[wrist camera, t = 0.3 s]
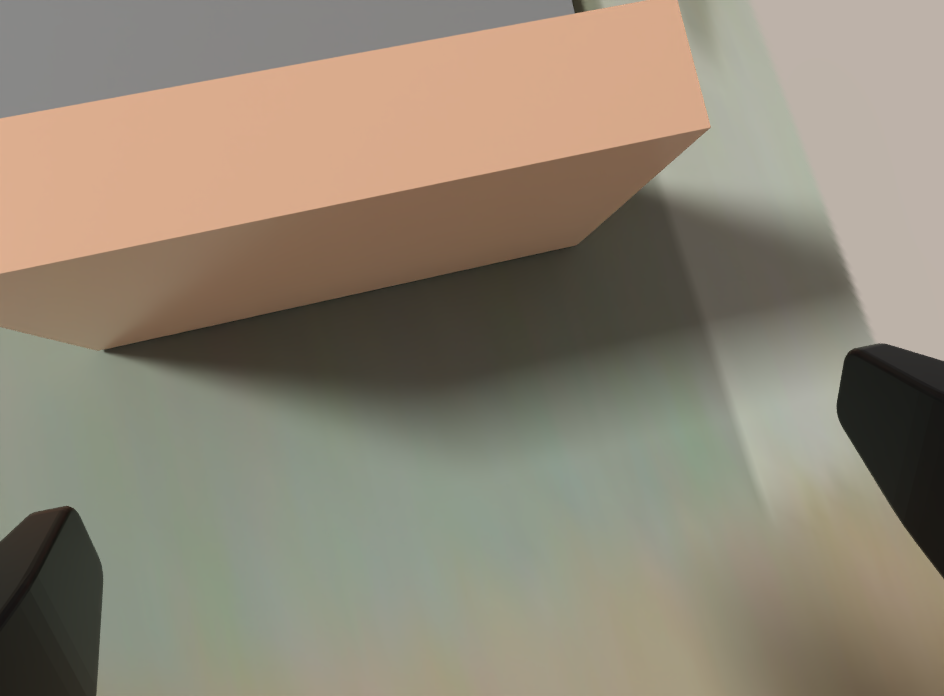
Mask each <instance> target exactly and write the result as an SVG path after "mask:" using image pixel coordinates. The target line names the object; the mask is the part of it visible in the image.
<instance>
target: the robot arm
mask: <svg viewBox="0 0 944 696" xmlns="http://www.w3.org/2000/svg"><path fill="white" fill-rule="evenodd" d="M837 414H838V418H839V421H840V423H841V425H842V427H843V429H844V431H845V432H846V434H847V435H848V437H849V439H850V440H851V442H852V444H853V445H854V447H855V449H856V450H857V452H858V453H859V455H860V457H861V458H862V460H863V462H864V463H865V465H866V466H867V468H868V470H869V471H870V473H871V475H872V476H873V478H874V480H875V481H876V483H877V484H878V486H879V488H880V489H881V491H882V493H883V494H884V496H885V497H886V499H887V501H888V502H889V504H890V506H891V507H892V509H893V510H894V512H895V513H896V515H897V516H898V518H899V519H900V521H901V523H902V524H903V525H904V527H905V528H906V530H907V531H908V532H909V534H910V535H911V536H912V538H913V539H914V541H915V542H916V543H917V545H918V546H919V547H920V548H921V550H922V551H923V552H924V554H925V555H926V556H927V558H928V559H929V560H930V561H931V563H932V564H933V565H934V567H935V568H936V569H937V571H938V572H939V573H940V575H941V576H942V577H943V578H944V361H941V360H938V359H935V358H931V357H928V356H925V355H921V354H918V353H915V352H912V351H908V350H905V349H902V348H898V347H895V346H891V345H888V344H874V345H869V346H864V347H859V348H854V349H852V350H851V351H849V352H848V354H847V355H846V357H845V360H844V364H843V370H842V376H841V382H840V387H839V393H838V399H837ZM102 594H103V571H102V565H101V562H100V559H99V557H98V554H97V552H96V550H95V548H94V546H93V543H92V541H91V539H90V537H89V535H88V533H87V530H86V528H85V526H84V524H83V522H82V520H81V517H80V516H79V514H78V512H77V511H76V510H75V509H74V508H72V507H69V506H63V507H58V508H53V509H48V510H43V511H38V512H34V513H32V514H30V515H29V516H27V517H26V518H25V519H24V520H23V521H22V522H21V523H20V524H19V525H18V526H16V527H15V528H14V529H13V530H12V531H11V532H10V533H9V534H8V535H7V536H6V537H5V538H4V539H3V540H2V541H0V696H96V692H97V677H98V660H99V644H100V627H101V611H102Z"/></svg>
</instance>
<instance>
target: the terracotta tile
mask: <svg viewBox="0 0 944 696" xmlns="http://www.w3.org/2000/svg"><path fill="white" fill-rule="evenodd" d="M710 128H711V126H710V122H709V119H708V115H707V111H706V107H705V103H704V100H703V96H702V92H701V88H700V85H699V81H698V77H697V73H696V69H695V66H694V62H693V58H692V54H691V50H690V47H689V43H688V39H687V35H686V31H685V28H684V24H683V20H682V16H681V12H680V9H679V5H678V1H677V0H646V1H641V2H635V3H630V4H625V5H619V6H614V7H608V8H603V9H597V10H592V11H586V12H581V13H575V14H570V15H564V16H559V17H553V18H548V19H542V20H537V21H531V22H526V23H520V24H515V25H509V26H504V27H498V28H493V29H488V30H482V31H477V32H471V33H466V34H460V35H455V36H449V37H444V38H438V39H433V40H427V41H422V42H416V43H411V44H405V45H400V46H394V47H389V48H383V49H378V50H372V51H367V52H362V53H356V54H351V55H345V56H340V57H334V58H329V59H323V60H318V61H312V62H307V63H301V64H296V65H290V66H285V67H279V68H274V69H268V70H263V71H257V72H252V73H246V74H241V75H235V76H230V77H225V78H219V79H214V80H208V81H203V82H197V83H192V84H186V85H181V86H175V87H170V88H164V89H159V90H153V91H148V92H142V93H137V94H131V95H126V96H120V97H115V98H109V99H104V100H98V101H93V102H88V103H82V104H77V105H71V106H66V107H60V108H55V109H49V110H44V111H38V112H33V113H27V114H22V115H16V116H11V117H5V118H0V327H2V328H6V329H11V330H15V331H19V332H23V333H27V334H31V335H35V336H39V337H43V338H47V339H52V340H56V341H60V342H64V343H68V344H72V345H76V346H80V347H84V348H89V349H93V350H97V351H100V350H104V349H109V348H113V347H118V346H122V345H127V344H131V343H136V342H140V341H145V340H149V339H154V338H159V337H163V336H168V335H172V334H177V333H181V332H186V331H190V330H195V329H199V328H204V327H208V326H213V325H217V324H222V323H226V322H231V321H236V320H240V319H245V318H249V317H254V316H258V315H263V314H267V313H272V312H276V311H281V310H285V309H290V308H294V307H299V306H303V305H308V304H312V303H317V302H322V301H326V300H331V299H335V298H340V297H344V296H349V295H353V294H358V293H362V292H367V291H371V290H376V289H380V288H385V287H389V286H394V285H399V284H403V283H408V282H412V281H417V280H421V279H426V278H430V277H435V276H439V275H444V274H448V273H453V272H457V271H462V270H466V269H471V268H475V267H480V266H485V265H489V264H494V263H498V262H503V261H507V260H512V259H516V258H521V257H525V256H530V255H534V254H539V253H543V252H548V251H552V250H557V249H561V248H566V247H571V246H575V245H578V244H579V243H580V242H581V241H582V240H583V239H585V238H586V237H587V236H588V235H589V234H590V233H591V232H593V231H594V230H595V229H596V228H597V227H598V226H599V225H600V224H602V223H603V222H604V221H605V220H606V219H607V218H608V217H610V216H611V215H612V214H613V213H614V212H615V211H616V210H618V209H619V208H620V207H621V206H622V205H623V204H624V203H625V202H627V201H628V200H629V199H630V198H631V197H632V196H633V195H635V194H636V193H637V192H638V191H639V190H640V189H641V188H642V187H644V186H645V185H646V184H647V183H648V182H649V181H650V180H652V179H653V178H654V177H655V176H656V175H657V174H658V173H660V172H661V171H662V170H663V169H664V168H665V167H666V166H667V165H669V164H670V163H671V162H672V161H673V160H674V159H675V158H677V157H678V156H679V155H680V154H681V153H682V152H683V151H685V150H686V149H687V148H688V147H689V146H690V145H691V144H692V143H694V142H695V141H696V140H697V139H698V138H699V137H700V136H702V135H703V134H704V133H705V132H706V131H707V130H708V129H710Z"/></svg>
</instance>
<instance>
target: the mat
mask: <svg viewBox="0 0 944 696" xmlns="http://www.w3.org/2000/svg"><path fill="white" fill-rule="evenodd" d="M570 14H575V12H574V8H573V4H572V0H0V118H5V117H11V116H16V115H22V114H27V113H33V112H38V111H44V110H49V109H55V108H60V107H66V106H71V105H77V104H82V103H88V102H93V101H98V100H104V99H109V98H115V97H120V96H126V95H131V94H137V93H142V92H148V91H153V90H159V89H164V88H170V87H175V86H181V85H186V84H192V83H197V82H203V81H208V80H214V79H219V78H225V77H230V76H235V75H241V74H246V73H252V72H257V71H263V70H268V69H274V68H279V67H285V66H290V65H296V64H301V63H307V62H312V61H318V60H323V59H329V58H334V57H340V56H345V55H351V54H356V53H362V52H367V51H372V50H378V49H383V48H389V47H394V46H400V45H405V44H411V43H416V42H422V41H427V40H433V39H438V38H444V37H449V36H455V35H460V34H466V33H471V32H477V31H482V30H488V29H493V28H498V27H504V26H509V25H515V24H520V23H526V22H531V21H537V20H542V19H548V18H553V17H559V16H564V15H570Z"/></svg>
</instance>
